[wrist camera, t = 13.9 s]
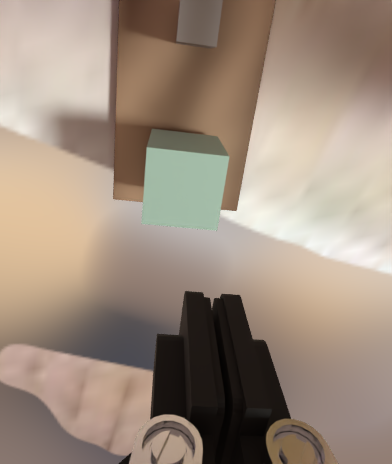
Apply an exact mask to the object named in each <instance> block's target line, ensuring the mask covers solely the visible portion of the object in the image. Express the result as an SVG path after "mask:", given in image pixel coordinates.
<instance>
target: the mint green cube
mask: <svg viewBox="0 0 392 464" xmlns="http://www.w3.org/2000/svg"><path fill="white" fill-rule="evenodd" d="M228 162H229V155H228V153H227V151H226V150H225V148H224V146H223V145H222V143H221V141H220V140H219V138H218V136H211V135H202V134H194V133H185V132H177V131H168V130H160V129H152V130H151V134H150V138H149V141H148V145H147V151H146V166H145V180H144V195H143V210H142V224H149V225H161V226H173V227H183V228H195V229H206V230H217V228H218V222H219V216H220V210H221V204H222V198H223V192H224V186H225V180H226V174H227V168H228Z"/></svg>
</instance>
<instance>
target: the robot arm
mask: <svg viewBox="0 0 392 464" xmlns="http://www.w3.org/2000/svg"><path fill="white" fill-rule="evenodd" d="M119 464H338V462H337V460H336V458H335V456H334V454H333V453H332V451H331V449H330V447H329V446H328V444H327V442H326V441H325V439H324V438H323V437H322V435H321V434H320V433H319V432H318V431H316V430H315V429H314V428H313V427H311V426H310V425H308V424H306V423H305V422H302V421H299V420H295V419H291V417H290V414H289V411H288V408H287V405H286V402H285V399H284V395H283V392H282V389H281V387H280V383H279V380H278V377H277V374H276V371H275V368H274V365H273V362H272V359H271V356H270V353H269V350H268V347H267V344H266V342H265V341H264V340H253V339H252V335H251V332H250V328H249V325H248V321H247V318H246V314H245V311H244V307H243V303H242V300H241V297H240V295H232V294H222V295H221V297H220V299H219V298H215V299H214V302H213V307H212V308H211V302H210V298H206V297H204V294H203V293H202V292H189V291H185V294H184V301H183V308H182V317H181V324H180V332H179V335H166V334H157V339H156V350H155V361H154V372H153V386H152V401H151V417H150V420H149V421H147V422H146V423H145V424H144V425H143V426H142V427H141V429H140V430H139V432H138V434H137V436H136V439H135V442H134V446H133V450H132V453H130V454H129V455H128V456H127V457H126V458H125V459H123V460H122V461H121V462H120V463H119Z"/></svg>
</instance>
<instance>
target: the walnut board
mask: <svg viewBox="0 0 392 464" xmlns="http://www.w3.org/2000/svg"><path fill="white" fill-rule="evenodd" d="M275 1H276V0H119V24H118V57H117V90H116V123H115V156H114V190H113V199H116V200H127V201H137V202H143V195H144V180H145V166H146V151H147V145H148V141H149V138H150V134H151V130H152V129H160V130H168V131H177V132H185V133H194V134H202V135H211V136H218V138H219V140H220V141H221V143H222V145H223V146H224V148H225V150H226V151H227V153H228V155H229V162H228V168H227V174H226V180H225V186H224V192H223V198H222V204H221V210H232V211H236V210H237V205H238V200H239V194H240V189H241V184H242V178H243V173H244V168H245V162H246V157H247V151H248V146H249V141H250V135H251V130H252V125H253V119H254V114H255V109H256V103H257V98H258V93H259V87H260V82H261V76H262V71H263V66H264V60H265V55H266V50H267V44H268V39H269V34H270V28H271V23H272V18H273V12H274V7H275Z"/></svg>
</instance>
